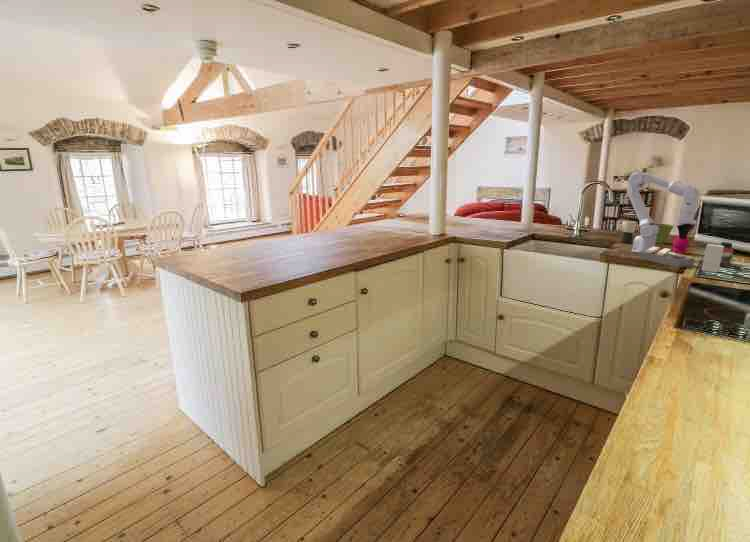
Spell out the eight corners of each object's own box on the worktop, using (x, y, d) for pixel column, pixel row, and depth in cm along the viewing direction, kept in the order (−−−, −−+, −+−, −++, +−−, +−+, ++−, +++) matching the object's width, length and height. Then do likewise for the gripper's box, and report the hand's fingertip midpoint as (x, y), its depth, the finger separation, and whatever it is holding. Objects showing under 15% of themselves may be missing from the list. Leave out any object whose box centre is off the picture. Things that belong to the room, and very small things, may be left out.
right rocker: (668, 253, 198) (669, 251, 198) (675, 255, 201) (676, 253, 200) (674, 254, 195) (675, 252, 195) (681, 257, 198) (682, 255, 198)
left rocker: (645, 251, 208) (645, 249, 208) (653, 248, 210) (653, 246, 210) (651, 253, 206) (651, 251, 205) (659, 249, 208) (659, 247, 207)
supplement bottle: (713, 263, 204) (719, 241, 201) (729, 265, 201) (735, 242, 198) (713, 265, 200) (719, 242, 197) (729, 267, 196) (735, 244, 193)
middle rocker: (656, 254, 203) (656, 252, 203) (664, 249, 205) (664, 247, 205) (662, 256, 201) (662, 254, 200) (670, 250, 203) (670, 249, 202)
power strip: (636, 258, 211) (638, 250, 210) (651, 256, 216) (653, 248, 215) (678, 267, 194) (680, 259, 193) (693, 265, 199) (695, 257, 198)
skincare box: (718, 271, 189) (725, 245, 186) (717, 273, 186) (724, 247, 182) (701, 268, 193) (708, 243, 190) (700, 270, 190) (706, 244, 187)
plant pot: (675, 244, 251) (679, 225, 248) (661, 245, 247) (665, 226, 244) (656, 240, 262) (659, 222, 259) (643, 241, 258) (646, 223, 254)
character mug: (633, 241, 254) (637, 221, 251) (638, 244, 248) (642, 222, 244) (614, 241, 256) (617, 220, 253) (618, 243, 249) (622, 221, 246)
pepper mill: (687, 254, 223) (695, 217, 218) (671, 252, 227) (679, 216, 222) (687, 252, 228) (695, 216, 223) (671, 250, 233) (679, 215, 227)
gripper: (687, 213, 200) (682, 241, 203) (705, 212, 205) (699, 239, 209) (672, 211, 206) (667, 238, 209) (689, 210, 212) (684, 236, 215)
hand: (682, 238), depth 209 cm, fingers closed
